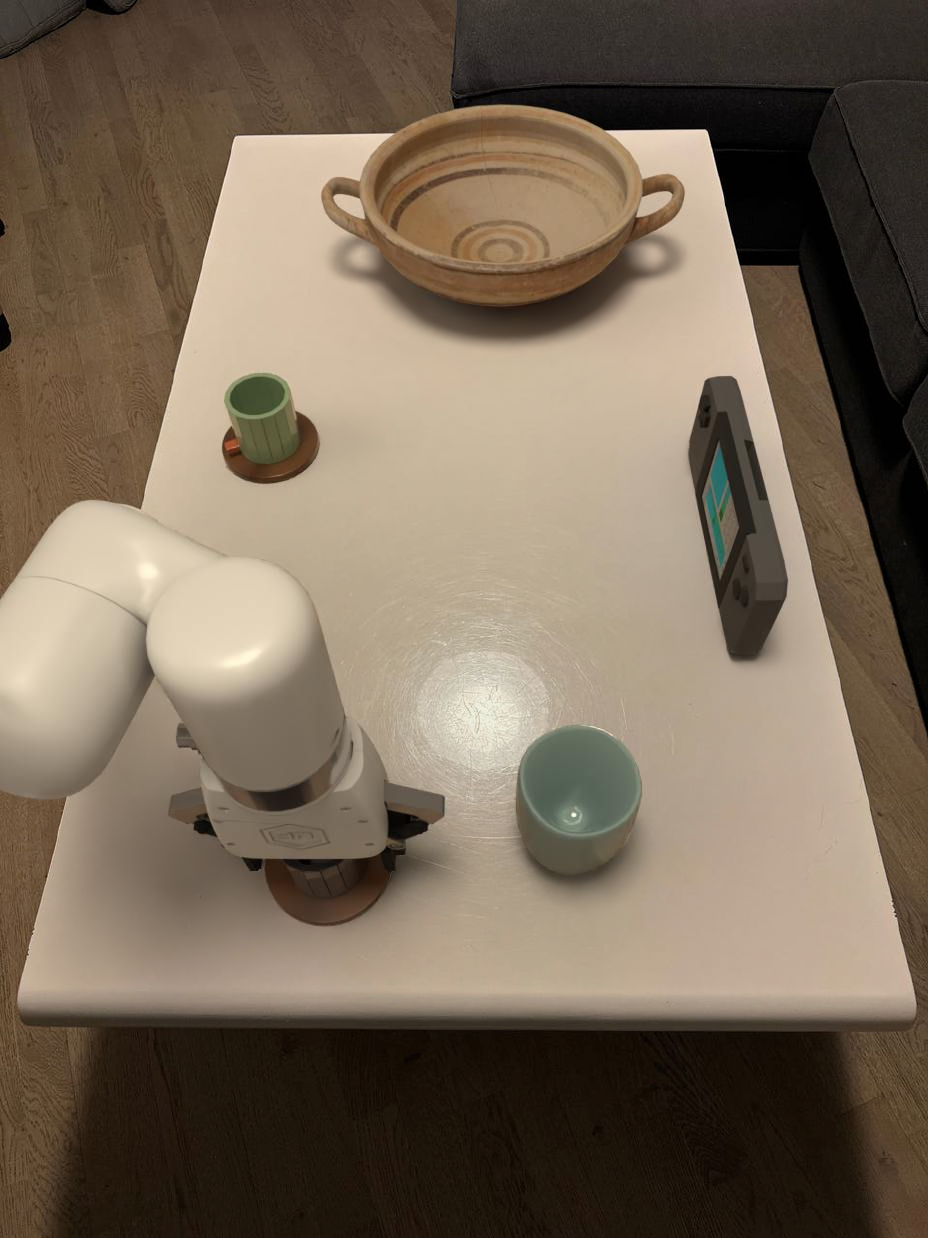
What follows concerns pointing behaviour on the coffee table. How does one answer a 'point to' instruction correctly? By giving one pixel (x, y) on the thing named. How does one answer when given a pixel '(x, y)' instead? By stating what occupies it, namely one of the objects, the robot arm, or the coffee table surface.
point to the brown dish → (280, 469)
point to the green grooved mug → (262, 418)
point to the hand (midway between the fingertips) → (325, 850)
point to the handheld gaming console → (736, 518)
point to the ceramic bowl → (501, 203)
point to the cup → (576, 798)
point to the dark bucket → (325, 875)
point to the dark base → (326, 909)
